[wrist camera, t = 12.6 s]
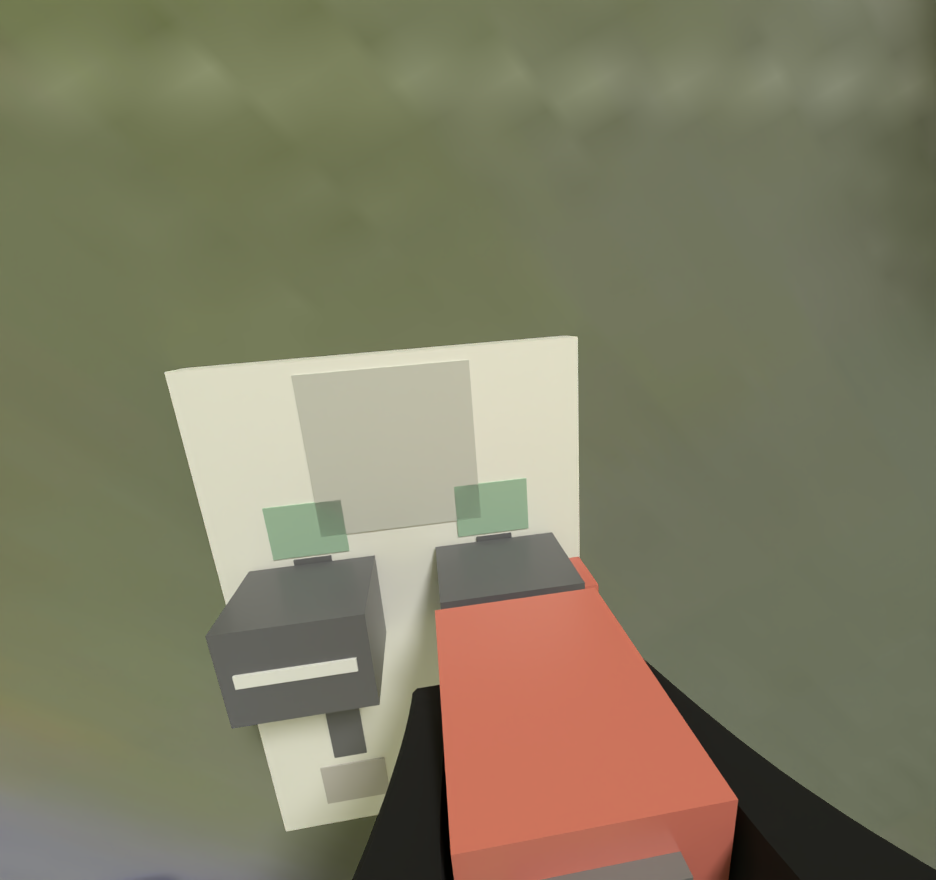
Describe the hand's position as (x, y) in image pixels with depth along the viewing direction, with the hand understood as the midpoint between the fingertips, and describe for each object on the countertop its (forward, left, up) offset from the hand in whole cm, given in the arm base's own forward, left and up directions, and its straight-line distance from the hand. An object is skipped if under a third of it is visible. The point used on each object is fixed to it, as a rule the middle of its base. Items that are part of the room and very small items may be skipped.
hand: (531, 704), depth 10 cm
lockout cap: (0, 0, -1) cm, 1 cm away
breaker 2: (0, 0, -5) cm, 5 cm away
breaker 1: (0, +6, -5) cm, 8 cm away
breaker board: (-1, +3, -6) cm, 7 cm away
